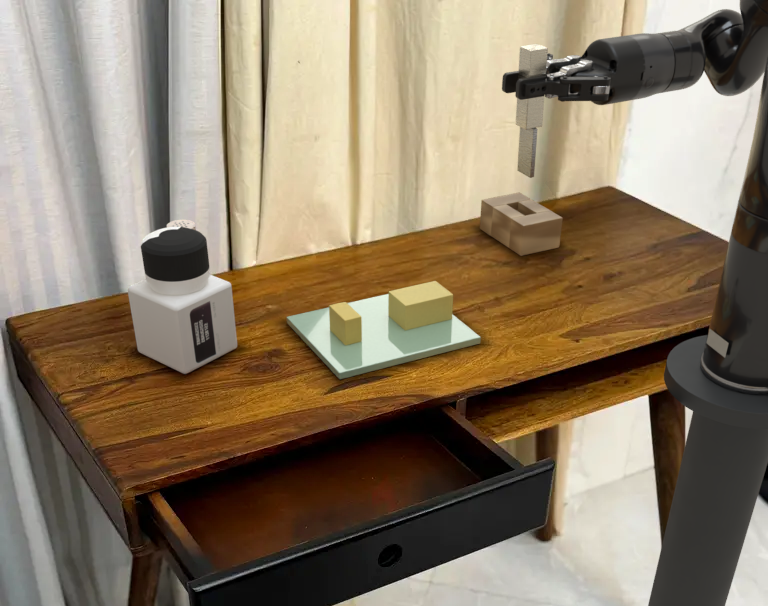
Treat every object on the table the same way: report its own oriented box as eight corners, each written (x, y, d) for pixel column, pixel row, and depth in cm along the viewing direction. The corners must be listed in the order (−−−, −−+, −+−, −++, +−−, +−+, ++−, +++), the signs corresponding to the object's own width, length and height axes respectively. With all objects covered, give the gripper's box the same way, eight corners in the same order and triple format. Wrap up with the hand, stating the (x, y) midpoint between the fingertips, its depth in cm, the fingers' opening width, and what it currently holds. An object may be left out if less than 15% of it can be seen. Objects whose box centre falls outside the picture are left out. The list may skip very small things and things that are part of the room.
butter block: (388, 315, 111) (388, 291, 109) (434, 304, 113) (435, 280, 111) (404, 330, 108) (405, 305, 106) (452, 319, 110) (453, 294, 108)
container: (239, 348, 106) (227, 232, 98) (185, 376, 102) (168, 257, 94) (191, 326, 110) (176, 213, 102) (136, 352, 105) (116, 236, 97)
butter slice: (329, 330, 108) (328, 305, 106) (346, 326, 109) (345, 301, 107) (345, 345, 105) (344, 320, 103) (362, 341, 106) (361, 316, 104)
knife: (511, 172, 125) (518, 45, 116) (527, 168, 126) (535, 42, 117) (524, 179, 123) (532, 51, 114) (540, 175, 124) (549, 48, 115)
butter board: (286, 323, 111) (286, 316, 110) (418, 292, 117) (419, 286, 117) (339, 379, 101) (339, 373, 101) (480, 343, 107) (481, 336, 107)
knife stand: (479, 228, 132) (481, 199, 130) (516, 220, 135) (519, 192, 132) (520, 256, 125) (523, 225, 123) (559, 247, 128) (563, 217, 125)
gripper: (597, 24, 125) (481, 39, 119) (669, 48, 116) (547, 67, 110) (590, 86, 130) (478, 104, 124) (658, 114, 120) (540, 135, 114)
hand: (511, 86), depth 117 cm, fingers closed on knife, 2 cm apart
